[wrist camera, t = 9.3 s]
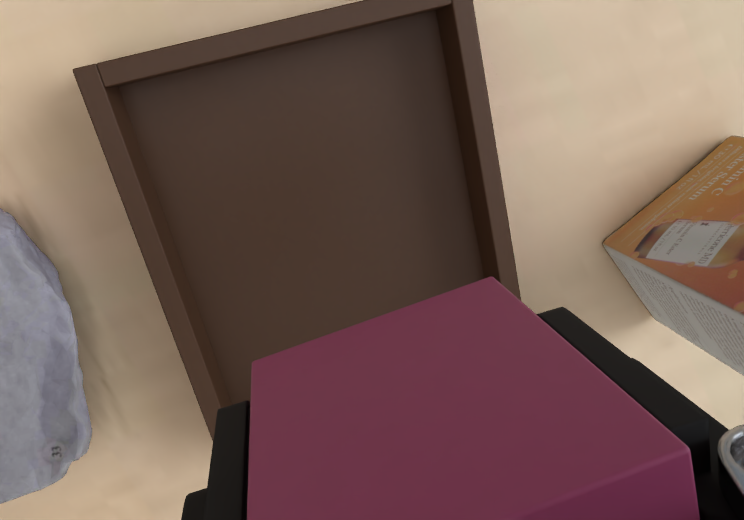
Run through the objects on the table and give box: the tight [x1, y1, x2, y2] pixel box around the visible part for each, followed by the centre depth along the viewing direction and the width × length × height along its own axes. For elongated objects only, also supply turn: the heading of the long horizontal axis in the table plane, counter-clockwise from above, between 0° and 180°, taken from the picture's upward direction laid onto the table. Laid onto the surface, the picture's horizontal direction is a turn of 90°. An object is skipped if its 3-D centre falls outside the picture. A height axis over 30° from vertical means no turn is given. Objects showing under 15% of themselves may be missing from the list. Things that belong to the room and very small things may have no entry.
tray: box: [73, 0, 521, 440], centre depth 25 cm, size 14×17×3 cm
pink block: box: [247, 277, 700, 520], centre depth 9 cm, size 5×5×6 cm
